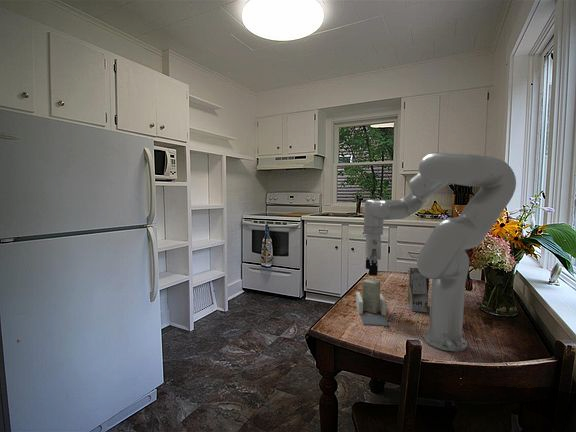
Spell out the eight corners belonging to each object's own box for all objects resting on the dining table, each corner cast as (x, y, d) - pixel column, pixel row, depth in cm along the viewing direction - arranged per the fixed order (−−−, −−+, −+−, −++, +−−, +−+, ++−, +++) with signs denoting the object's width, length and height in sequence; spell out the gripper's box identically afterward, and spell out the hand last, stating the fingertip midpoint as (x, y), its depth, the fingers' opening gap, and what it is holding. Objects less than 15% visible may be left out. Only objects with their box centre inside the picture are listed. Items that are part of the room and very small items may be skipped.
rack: (386, 315, 120) (386, 303, 120) (358, 314, 121) (359, 302, 121) (380, 304, 133) (380, 293, 132) (355, 303, 134) (356, 291, 133)
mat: (389, 326, 111) (389, 325, 111) (363, 324, 112) (363, 323, 112) (384, 316, 120) (384, 315, 120) (360, 314, 121) (360, 313, 121)
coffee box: (428, 312, 124) (430, 273, 123) (411, 311, 125) (412, 272, 124) (422, 304, 133) (424, 267, 132) (407, 303, 134) (408, 267, 133)
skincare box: (380, 311, 125) (381, 281, 124) (375, 314, 122) (376, 283, 121) (366, 306, 130) (367, 278, 129) (360, 309, 126) (361, 280, 125)
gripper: (387, 233, 114) (384, 278, 116) (379, 227, 131) (377, 267, 133) (366, 233, 115) (364, 277, 117) (361, 227, 132) (359, 266, 134)
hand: (371, 272), depth 125 cm, fingers open, 9 cm apart
